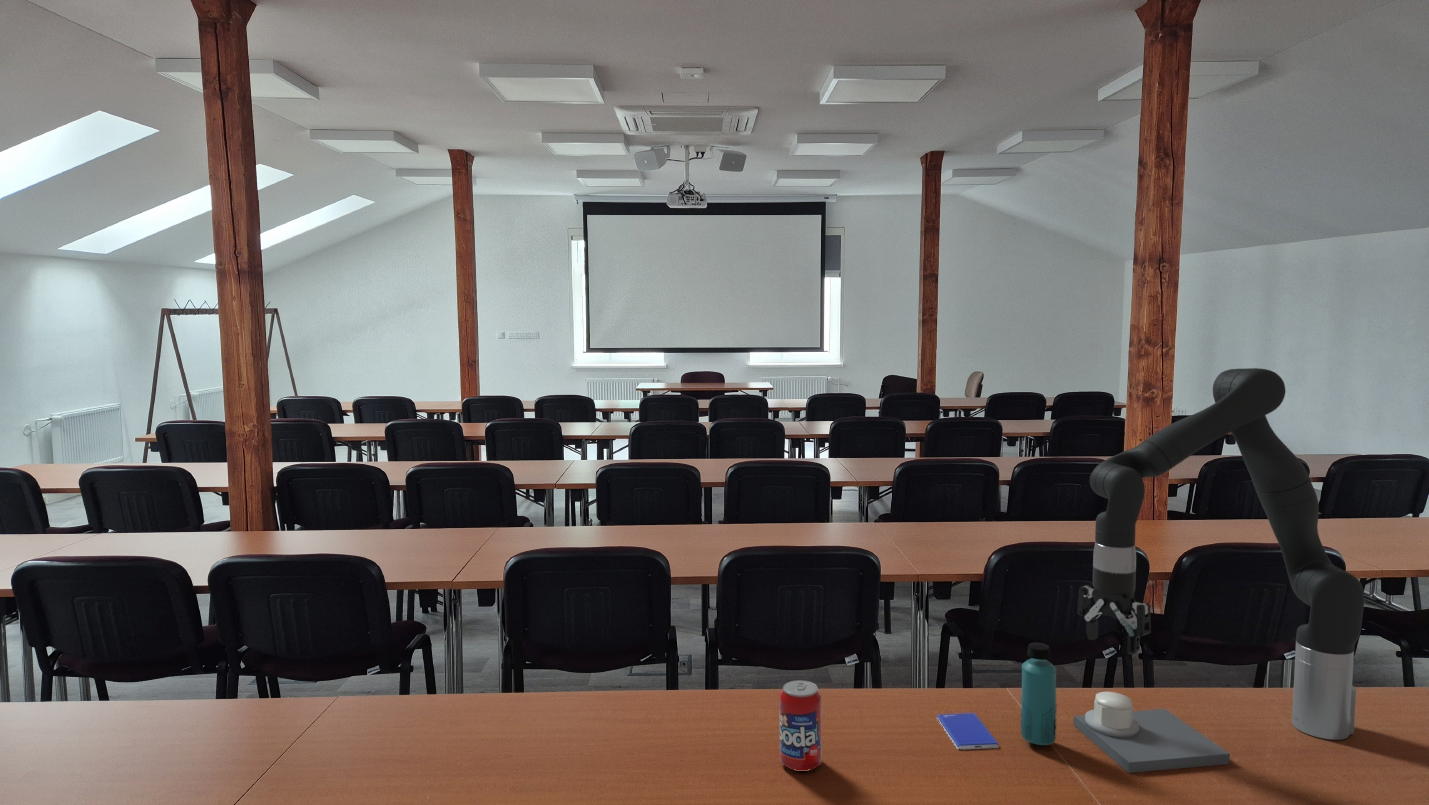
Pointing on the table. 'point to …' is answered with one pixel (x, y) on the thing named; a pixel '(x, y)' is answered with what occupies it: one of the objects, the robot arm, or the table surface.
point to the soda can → (800, 725)
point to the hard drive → (967, 731)
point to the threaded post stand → (1153, 742)
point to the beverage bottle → (1038, 696)
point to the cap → (1113, 710)
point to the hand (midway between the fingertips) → (1111, 646)
